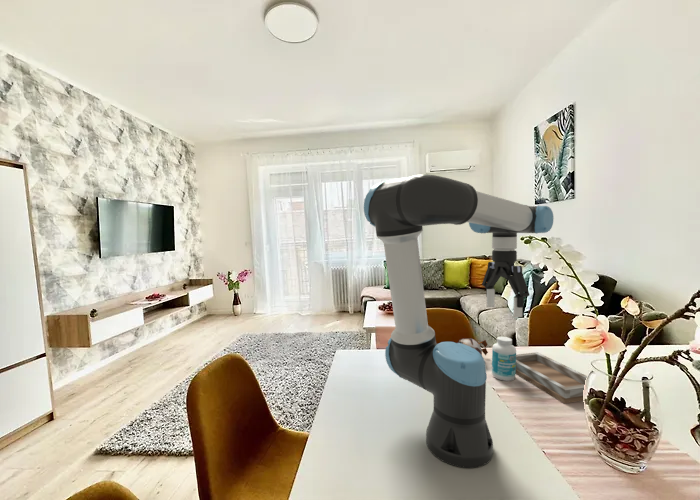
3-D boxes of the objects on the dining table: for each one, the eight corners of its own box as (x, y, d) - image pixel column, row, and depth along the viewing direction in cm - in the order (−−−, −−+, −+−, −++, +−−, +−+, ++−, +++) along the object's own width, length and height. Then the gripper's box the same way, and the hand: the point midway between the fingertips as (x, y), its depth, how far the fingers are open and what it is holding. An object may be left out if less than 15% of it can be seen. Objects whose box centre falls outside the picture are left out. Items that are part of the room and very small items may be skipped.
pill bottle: (497, 382, 108) (498, 342, 107) (488, 372, 116) (488, 335, 115) (519, 381, 108) (520, 342, 107) (509, 371, 116) (509, 334, 115)
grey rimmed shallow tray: (605, 396, 98) (605, 384, 98) (563, 403, 95) (564, 390, 94) (538, 362, 123) (538, 352, 123) (503, 366, 120) (503, 356, 120)
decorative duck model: (465, 353, 117) (437, 339, 130) (466, 372, 118) (438, 356, 132) (495, 342, 123) (465, 330, 137) (495, 361, 124) (466, 346, 138)
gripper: (543, 251, 98) (541, 320, 99) (490, 247, 122) (489, 302, 124) (522, 252, 96) (520, 322, 98) (472, 247, 120) (472, 304, 122)
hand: (503, 311), depth 111 cm, fingers open, 13 cm apart
